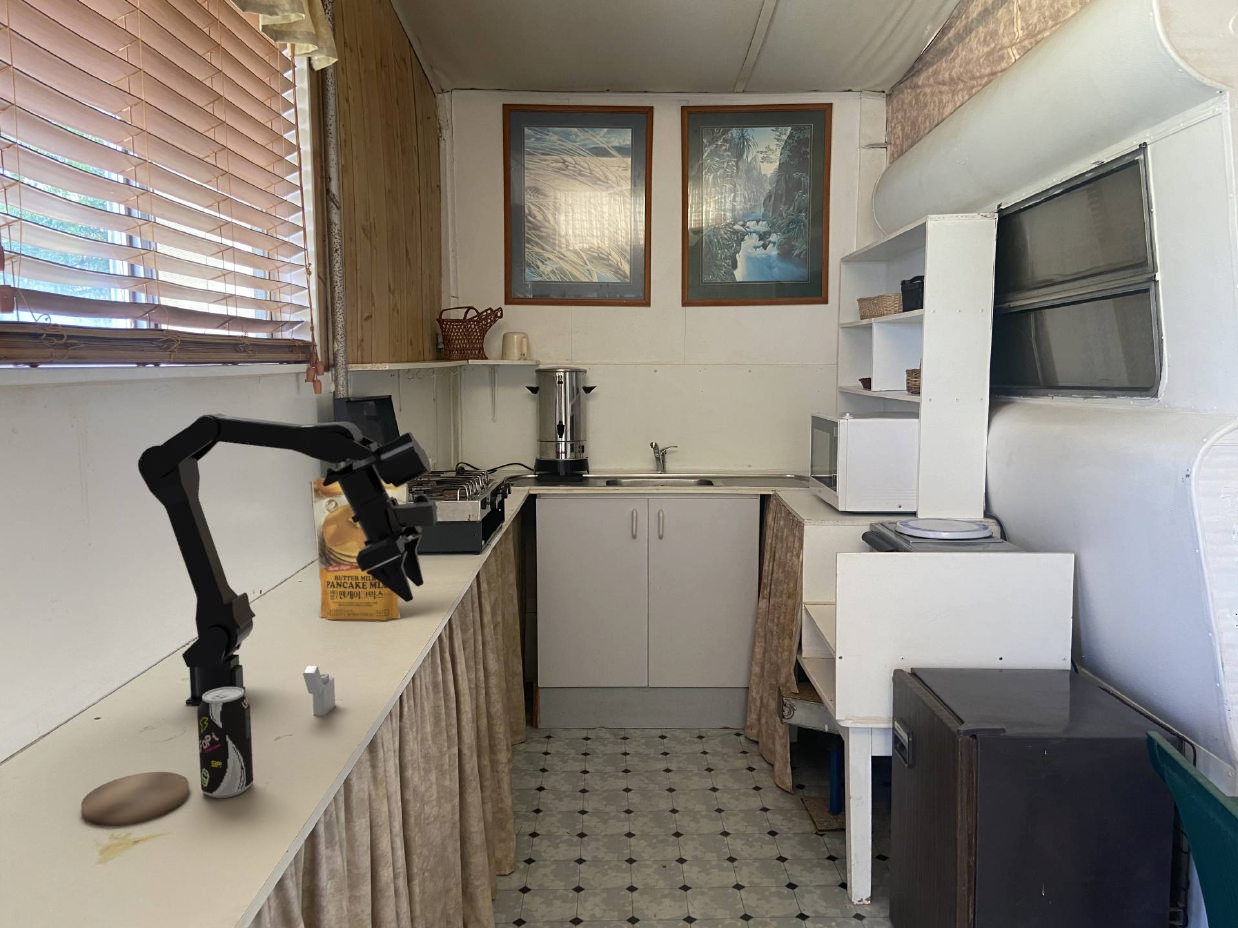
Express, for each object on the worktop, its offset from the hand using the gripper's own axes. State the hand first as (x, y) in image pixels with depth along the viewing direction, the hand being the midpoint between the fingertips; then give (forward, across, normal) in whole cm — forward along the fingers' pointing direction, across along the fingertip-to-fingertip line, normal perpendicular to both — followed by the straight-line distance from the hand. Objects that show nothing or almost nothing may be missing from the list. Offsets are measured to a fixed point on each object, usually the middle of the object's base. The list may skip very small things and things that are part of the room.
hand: (415, 592), depth 137 cm
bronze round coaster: (+3, -33, +31) cm, 45 cm away
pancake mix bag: (+7, +43, +24) cm, 50 cm away
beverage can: (+8, -30, +22) cm, 39 cm away
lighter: (+9, -7, +18) cm, 22 cm away
